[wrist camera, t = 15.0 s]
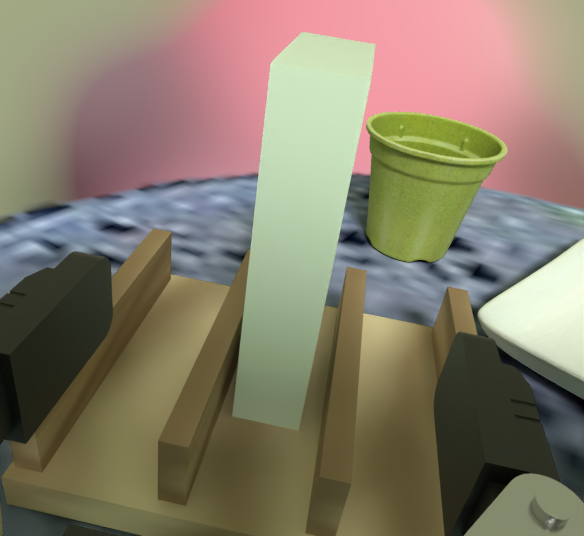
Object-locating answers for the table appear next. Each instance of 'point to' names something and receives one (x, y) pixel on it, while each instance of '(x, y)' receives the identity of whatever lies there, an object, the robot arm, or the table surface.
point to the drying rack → (241, 420)
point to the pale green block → (298, 218)
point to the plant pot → (424, 181)
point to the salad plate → (544, 320)
